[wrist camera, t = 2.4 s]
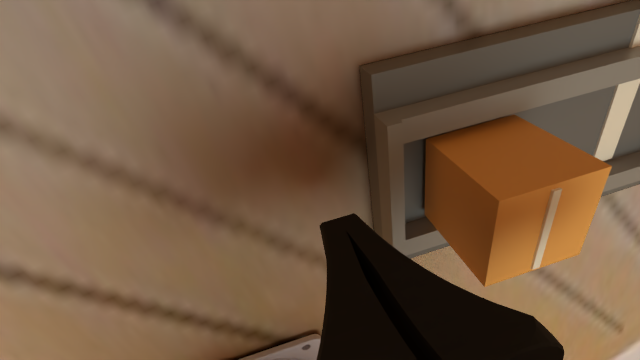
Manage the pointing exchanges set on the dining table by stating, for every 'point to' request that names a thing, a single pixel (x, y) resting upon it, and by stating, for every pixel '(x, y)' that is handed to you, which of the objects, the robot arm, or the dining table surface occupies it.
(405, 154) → the fader console
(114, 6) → the dining table surface
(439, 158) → the fader tab
